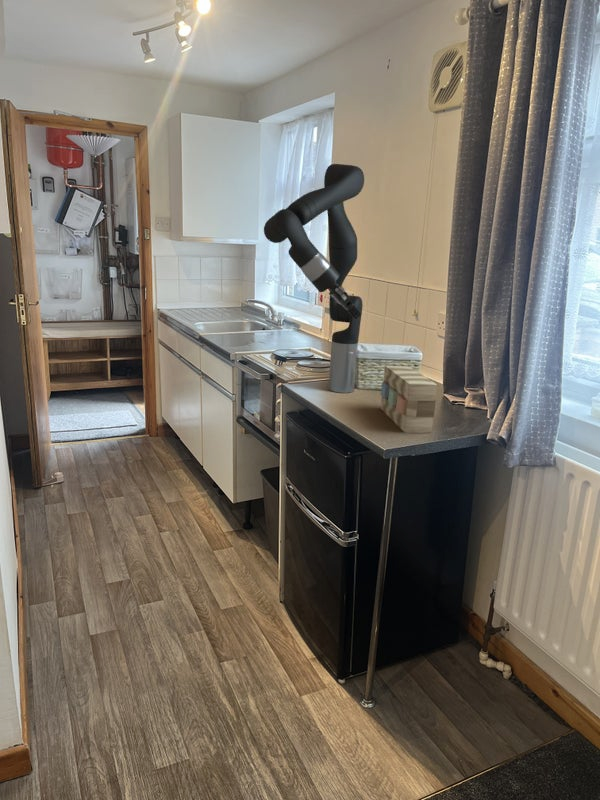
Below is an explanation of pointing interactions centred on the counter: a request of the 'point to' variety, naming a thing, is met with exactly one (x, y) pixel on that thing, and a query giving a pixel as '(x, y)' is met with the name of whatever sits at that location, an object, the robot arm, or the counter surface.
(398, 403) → the terracotta button
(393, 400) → the green button
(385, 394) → the blue button
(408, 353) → the storage basket
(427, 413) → the block
